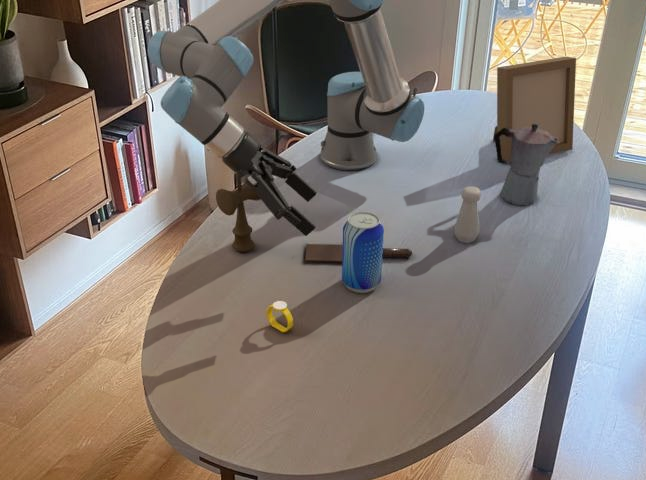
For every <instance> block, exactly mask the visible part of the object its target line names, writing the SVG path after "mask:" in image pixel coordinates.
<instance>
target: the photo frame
mask: <svg viewBox="0 0 646 480" xmlns="http://www.w3.org/2000/svg"><path fill="white" fill-rule="evenodd" d="M576 69H577V57H573V56H561V57H554V58H548V59H542V60H536V61H535V60H534V61H529V62H523V63H517V64H511V65H505V66H504V65H503V66H498V67H496V76H497V77H496V85H497V86H496V96H497V97H496V126H494V132H493V137H492V142H495V141H494V135H495V134H496V133H498V131H500V130H501V129H503V128H507V129H514V130H517V129H518V128H520V127H532V124H536V125H538V128H539V129H542V130H544V131H547V132H548V133H549V134H550V136H553V137H555V138H556V139H558V141H559V143H557V144H556V145H555V146H554V147H553V149H552V150H551V151H550V152H549V154H548V155H552V154H558V153H562V152H563V153H564V152H567V151H572V150H573V148H574V147H573V145H574V123H575V122H574V121H575V120H574V119H575V95H576ZM499 139H500V146H501V155H502V159H503V160H507V161H508V162H507V164H510V162H511V159H510V158H511V146H512V138H509V137H507V136H505V135H501V136H500V137H499ZM548 155H547V156H548ZM496 161H498V158H497V157H496Z"/></svg>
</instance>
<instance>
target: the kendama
mask: <svg viewBox="0 0 646 480" xmlns="http://www.w3.org/2000/svg"><path fill="white" fill-rule="evenodd" d="M215 200H216V204H217V206H218V207H217V208H218V209H219V210H220V211H221V212H222V213H223V214H224V215H226V216H234V214H235V213H236V219H235V225H234V227H233V228H232V230H231V231H232V233H233V236H234V240H233V242H232V243H231V248H232V250H234V251H235V252H238V253H248V252H250V251H251V250H253V249H254V248H255V246H256V244H255V241H253V239H252V237H251V236H252V233H253V227H252V226H251V225H249V222H248V217H247V214H246V209H245V203H244V202H245V201H248V200H249V201H254V202H255V201H257V202H258V201H262V200H261V199H260V198H259V196H258V195H257V194H256V193H255V191H254V190H253V189H252V188H251V187H250V186H249V185H248V184H247V183H246V182H245V180H244V181H243V182H242V177H241V170H240V171H239V172H236V189H234V190H228V189H225V188H220V189H217V190H216V192H215Z"/></svg>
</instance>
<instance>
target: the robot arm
mask: <svg viewBox="0 0 646 480" xmlns="http://www.w3.org/2000/svg"><path fill="white" fill-rule="evenodd" d="M292 1H293V0H218V1H217V2H215V3H213V4H212V5H211V6H209V7H208V8H207V9H205V10H204V11H202V12H200V13H199V15H197V16H196V17H194V18H193V19H192V20H190V21H189V22H187V23H186V24H184V25H183V26H182V27H180V28H178V29H177V30H176V31H174V32H173V31H171V30H159V31H156V32H155V33H154V34H153V35H152V36H151V37H150V39H149V41H148V45H147V57H148V59H149V61H150V63H151V64H152V66H154V67H155V68H157V69H159V70H161V71H163V72H165V73H166V74H171V75H174V76H177V77H178V78H176V80H175V81H173V83H172V84H171V85H170V86H169V87H168V88H167V90H166V91H165V92H164V94H163V96H162V97H161V99H160V107H161V109H162V110H163V111H164V112H165V113H166V114H167V115H168V117H170V118H171V119H172V120H173V121H174V123H175V124H178V125H179V126H180V127H181V128H183V130H185V131H186V132H187V133H189V134H190V135H191V136H192V137H193V138H194V139H196V140H197V141H198V142H199V143H201V145H203V147H205V151H208V152H209V151H210V152H211V153H212V154H213V155H214V156H215V157H217V158H218V159H221V162H222V163H223V164H224V165H226V167H228V168H229V169H230V170H232V171H233V172H235V173H237V172H239V171H240V172H241V171H244V172H245V174H247V177H246V178H245V179H244V181H245V182H246V183H247V184H248V185H249V186H250V187H251V188H252V189H253V190H254V191H255V193H256V194H257V195H258V196H259V198H260V199H261V200H260V201H261V202H262V203H263V204H264V206H265V207H267V209H268V210H269V211H270V213H271V214H272V215H273V216H274V218H275V219H276V220H278V221H279V220H281V219H282V218H284V219H285V220H286V221H287V222H289V223H290V224H291V225H292V226H293V227H294V228H295V229H297V230H298V231H299V232H300V233H301V234H302V235H304V236H305V237H307V236H308V235H309V234H311V233H312V232H314V230H315V229H316V228H317V226H316V225H315V224H314V223H313V222H312V221H311V220H310V219H308V218H307V217H306V216H305V215H304V214H303V213H302V212H300V211H299V210H298V209H296V207H294V205H290V204H289V203H288V202H287V199H286V198H285V197H284V195H283V194H282V192H281V191H280V189H279V188H278V186H277V185H276V183H275V178H274V177H276V178H280V179H282V180H285V182H284V183H285V184H286V185H288V187H290V188H291V189H292V190H293V191H294V192H295V193H296V194H298V195H299V196H300V197H301V198H302V199H303V200H304V201H306V202H307V203H309V202H311V200H312V199H313V198H314V197H316V196H317V195H318V192H317V191H316V190H315V189H314V188H312V187H311V186H310V185H309V184H308V183H307V182H306V181H305V180H303V179H302V178H301V177H300V176H299V175H298V174H297V173H296V172H295V171H296V170H297V167H296V166H295V165H294V164H292V162H291V161H289V160H287V159H286V158H284V157H282V156H280V155H279V154H277V153H275V152H273V151H272V150H269V149H268V148H266V147H265V146H264V145H263V144H261V143H260V142H259V140H258V139H256V138H255V137H254V136H253V135H252V134H251V133H250V132H249V131H245V128H244V126H242V125H241V124H240V123H239V122H238V121H237V120H236V119H235V118H233V117H232V116H231V115H230V114H229V113H228V112H226V111H225V110H224V109H223V106H224V105H225V104H226V103H227V101H228V100H229V98H230V97H231V96H232V95H233V93H234V92H235V91H236V89H237V88H238V87H239V85H240V84H241V83H242V82H243V80H245V78H246V76H247V74H248V73H249V71H250V70H251V67H252V66H253V64H254V55H253V53H252V52H251V50H250V48H248V46H247V45H246V44H245V43H243V42H242V41H241V40H239V39H238V38H236V37H237V36H238V35H240V34H241V33H243V32H244V31H245V30H246V29H248V28H250V27H251V26H252V25H254V24H255V23H256V22H258V21H259V20H260V19H261V18H263V17H264V16H265V15H267V14H268V13H269V12H271V11H272V10H273V9H274V8H276V7H277V6H279V5H280V4H282V3H290V2H292ZM327 1H328V3H329V4H330V7H331V11H332V14H333V16H334V17H335V18H336V19H337V20H338V21H339V22H342V23H344V28H345V30H346V33H347V37H348V39H349V42H350V45H351V47H352V51H353V55H354V56H355V60H356V64H357V67H358V68H359V71H347V72H342V73H339V74H336V75H334V76H333V77H331V78H330V79H329V81H328V85H327V93H326V96H327V101H326V102H327V106H326V107H327V109H326V110H327V132H326V134H325V137H324V140H322V141H320V148H321V149H320V160H321V162H322V163H323V164H324V165H326V166H328V167H330V168H332V169H334V170H338V171H339V170H340V171H358V170H364V169H367V168H369V167H371V166H373V165H374V164H375V163H376V162H377V150H376V146H375V143H374V139H373V134H375V135H377V136H381V137H382V138H383V137H384V138H386V139H389V140H391V141H394V142H395V141H396V142H400V143H405V142H408V141H410V140H411V139H413V137H414V136H415V135H416V134H417V131H419V128H420V126H421V124H422V122H423V118H424V116H425V115H424V114H425V102H424V101H423V99H422V98H420V97H419V96H416V95H417V91H418V88H417V87H414V88H413V92H412V93H411V89H410V85H409V84H408V82H407V81H406V80H405V79H404V78H402V77H400V73H399V70H398V69H399V68H398V66H397V62H396V58H395V55H394V51H393V48H392V45H391V41H390V38H389V34H388V31H387V27H386V24H385V19H384V16H383V13H382V10H381V9H382V7H383V6H384V3H385V1H386V0H327Z"/></svg>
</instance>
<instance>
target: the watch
mask: <svg viewBox="0 0 646 480" xmlns="http://www.w3.org/2000/svg"><path fill="white" fill-rule="evenodd" d="M273 311H275V312H277V313H282V314H283V315H284V317H285V319H286V322H287V327H285V326H284V325H282V323H281V324H280V323H279V322H278V321H277V320H276V318H275V317H274V314H273ZM266 318H267V321H268V322H269V324H270V325H271V327H273V328H274V329H276V330H277V331H280V332H281V333H287V332H289V330H291V329H292V328H293V326H294V319H293V318H294V317H293V315H292V313H291V312H290V310H289V309H288V304H287V302H285V301H283V300H277V301H274V302H273V303H272V304H271V305H269V306H268V307H267V308H266Z"/></svg>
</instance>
